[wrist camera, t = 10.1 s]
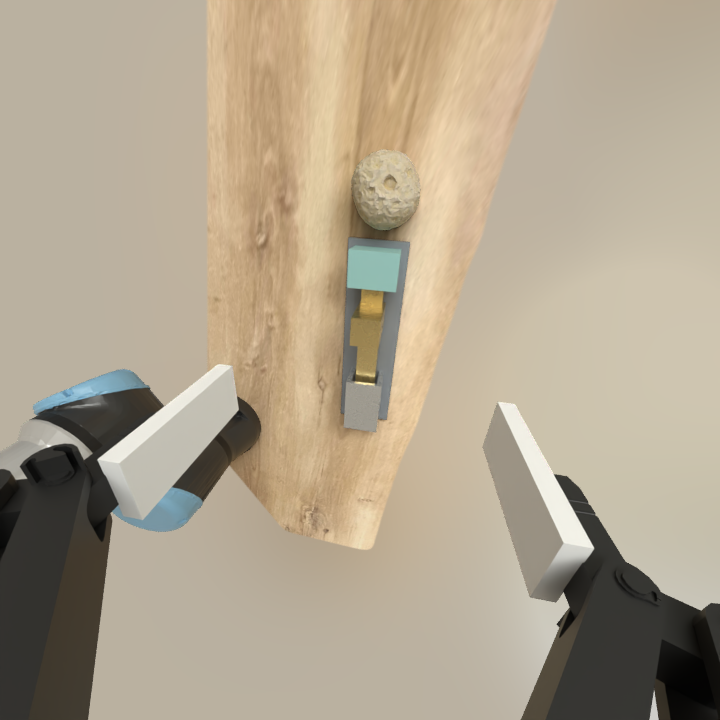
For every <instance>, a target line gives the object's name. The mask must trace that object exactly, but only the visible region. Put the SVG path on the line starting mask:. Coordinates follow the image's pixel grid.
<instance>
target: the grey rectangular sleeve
mask: <svg viewBox="0 0 720 720" xmlns="http://www.w3.org/2000/svg"><path fill="white" fill-rule="evenodd" d="M383 374H384V371H379V375H378V380H377V384H372V383H364V382H357V381H355V376H356V368H353V367H352V368H351V370H350V373H349V376H348V378H347V381H346V394H345V413H344V428H350V429H357V430H364V431H370V432H376V429H377V423H378V416H379V408H380V400H381V391H382V383H383Z"/></svg>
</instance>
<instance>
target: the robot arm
mask: <svg viewBox="0 0 720 720" xmlns="http://www.w3.org/2000/svg"><path fill="white" fill-rule="evenodd" d="M33 409H34V413H35V414H36V415H38V416H36V417H34V418H32V419H30V420H29V421H27V422H25V423H24V424H23V425H22V426H21V430H20V434H19V437H18V441H17V442H16V443H14V444H12V445H11V446H9V447H7V448H6V449H4V450H2V451H0V720H88V715H89V706H90V698H91V690H92V682H93V674H94V665H95V657H96V649H97V641H98V633H99V625H100V617H101V608H102V600H103V592H104V584H105V576H106V567H107V559H108V551H109V543H110V535H111V527H112V517H111V514H110V513H111V512H113V513H114V514H115V515H116V516H117V517H119V518H120V519H122V520H124V521H125V522H127V523H129V524H131V525H134V526H136V527H139V528H142V529H146V530H151V531H158V532H166V531H172V530H176V529H178V528H180V527H182V526H183V525H185V524H186V523H187V522H188V521H189V519H190V518H191V517H192V516H193V515H194V513H195V512H196V511H197V510H198V509H199V508H200V507H201V506H202V504H203V501H204V500H205V499H206V497H207V496H208V494H209V493H210V492H211V490H212V489H213V487H214V486H215V484H216V483H217V482H218V480H219V479H220V477H221V476H222V474H223V473H224V471H225V470H226V469H227V467H228V466H229V465H230V463H231V462H232V461H234V460H235V459H236V458H238V457H239V456H240V455H242V454H243V453H245V452H246V451H248V450H249V449H250V448H251V447H252V446H253V445H254V444H255V442H256V441H257V439H258V438H259V436H260V432H261V425H260V421H259V418H258V416H257V414H256V413H255V411H254V410H253V409H252V408H251V407H250V406H249V405H248V404H247V403H246V402H245V401H243V400H242V399H240V398H239V397H237V394H236V387H235V381H234V374H233V367H232V366H229V365H222V364H218V365H216V366H215V367H214V368H213V369H211V370H210V371H209V372H208V373H206V374H205V375H204V376H203V377H201V378H200V379H199V380H197V381H196V382H195V383H194V384H192V385H191V386H190V387H189V388H187V389H186V390H185V391H183V392H182V393H181V394H180V395H178V396H177V397H176V398H175V399H173V400H172V401H171V402H169V403H168V404H167V405H166V406H163V404H162V403H161V402H160V401H159V400H158V399H157V397H156V396H155V395H154V394H153V393H152V392H151V390H150V387H149V386H148V385H145V384H144V383H143V382H142V381H141V379H140V378H139V377H138V376H137V375H136V374H135V373H134V372H132V371H130V370H125V369H123V370H116V371H113V372H110V373H107V374H104V375H101V376H98V377H96V378H93V379H90V380H88V381H85V382H83V383H80V384H78V385H76V386H73V387H71V388H69V389H66V390H64V391H62V392H59V393H56V394H54V395H52V396H50V397H47V398H45V399H43V400H41V401H39V402H37V403H36V404H34V406H33ZM483 449H484V452H485V456H486V459H487V462H488V465H489V468H490V471H491V475H492V478H493V481H494V484H495V487H496V490H497V494H498V497H499V500H500V504H501V507H502V510H503V513H504V515H505V519H506V523H507V526H508V529H509V532H510V535H511V538H512V542H513V545H514V548H515V551H516V555H517V558H518V561H519V564H520V567H521V570H522V574H523V577H524V580H525V583H526V586H527V590H528V593H529V596H530V597H531V598H536V599H541V600H546V601H551V602H557V600H558V599H559V598H560V596H561V595H562V593H563V592H564V594H565V596H566V599H567V601H568V604H569V606H570V608H569V609H568V610H567V611H566V613H565V614H564V615H563V617H562V618H561V619H560V621H559V622H558V623H557V625H558V626H559V627H560V628H559V630H558V632H557V635H556V638H555V640H554V642H553V644H552V647H551V649H550V652H549V654H548V656H547V659H546V661H545V664H544V666H543V668H542V671H541V673H540V675H539V678H538V680H537V683H536V685H535V687H534V690H533V692H532V694H531V697H530V700H529V702H528V704H527V707H526V709H525V711H524V714H523V716H522V719H521V720H649V718H650V712H651V705H652V698H653V692H654V690H655V697H656V704H657V710H658V718H659V720H720V604H715V603H711V604H709V605H708V606H707V607H705V608H704V609H703V610H702V611H701V610H698V609H696V608H694V607H692V606H689V605H687V604H685V603H683V602H681V601H679V600H676V599H674V598H672V597H670V596H667V595H665V594H663V593H662V592H660V590H659V588H658V587H657V586H656V585H655V584H654V583H653V581H652V580H651V579H650V578H649V577H648V576H646V575H645V574H644V573H643V572H642V571H640V570H639V569H638V568H636V567H634V566H632V565H631V564H629V563H627V562H625V560H624V559H623V557H622V556H621V554H620V552H619V551H618V549H617V548H616V546H615V544H614V543H613V541H612V540H611V538H610V536H609V535H608V533H607V531H606V530H605V528H604V527H603V525H602V523H601V522H600V520H599V518H598V517H597V516H595V512H594V510H593V509H592V507H591V506H590V505H589V504H588V501H587V499H586V497H585V496H584V494H583V493H582V491H581V490H580V488H579V487H578V486H577V485H576V484H574V483H573V482H572V481H571V480H570V479H569V478H568V477H567V476H562V475H555V474H553V473H552V471H551V469H550V467H549V465H548V463H547V462H546V460H545V458H544V456H543V454H542V453H541V451H540V449H539V447H538V445H537V443H536V442H535V440H534V438H533V437H532V434H531V433H530V431H529V429H528V427H527V425H526V424H525V422H524V420H523V418H522V416H521V414H520V413H519V411H518V409H517V408H516V405H515V404H510V403H503V402H497V405H496V408H495V411H494V414H493V417H492V420H491V423H490V426H489V429H488V432H487V435H486V438H485V441H484V444H483Z"/></svg>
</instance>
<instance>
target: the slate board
mask: <svg viewBox="0 0 720 720" xmlns="http://www.w3.org/2000/svg"><path fill="white" fill-rule="evenodd" d="M355 245H358V246H370V247H381V248H393V249H402V250H401V258H400V266H399V274H398V283H397V289H396V292H386V291H385V293H384V302H385V303H386V308H385V317H384V326H383V331H382V335H381V339H380V344H379V351H378V360H377V370H376V379H375V384H377V380H378V375H379V371H384V374H383V383H382V391H381V400H380V408H379V416H378V419H384V420H387V412H388V405H389V397H390V390H391V382H392V375H393V367H394V360H395V352H396V345H397V337H398V330H399V322H400V315H401V307H402V300H403V292H404V285H405V277H406V270H407V262H408V255H409V247H410V242H404V241H392V240H380V239H368V238H356V237H349V239H348V252H349V249H350V248H352V247H353V246H355ZM347 274H348V261H347ZM361 291H362V289H357V288H347V284H346V307H345V329H344V352H343V375H342V397H341V413H343V414H344V413H345V394H346V381H347V378H348V376H349V373H350V370H351V368H352V367H353V368H356V365H357V350H358V346H350V327H351V317H352V315H353V313H354V312H355V310H356V308H357V306H358V304H359V303H360V301H361ZM355 379H356V376H355Z"/></svg>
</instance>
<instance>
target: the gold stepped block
mask: <svg viewBox="0 0 720 720" xmlns="http://www.w3.org/2000/svg"><path fill="white" fill-rule="evenodd" d="M384 293H385V291H376V290H366V289H362V291H361V301H360V303H359V304H358V306H357V308H356V310H355V312H354V313H353V315H352V317H351V327H350V346H358V350H357V365H356V379H355V381H357V382H364V383H372V384H375V379H376V370H377V360H378V351H379V344H380V339H381V335H382V331H383V326H384V317H385V308H386V303H385V302H384Z"/></svg>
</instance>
